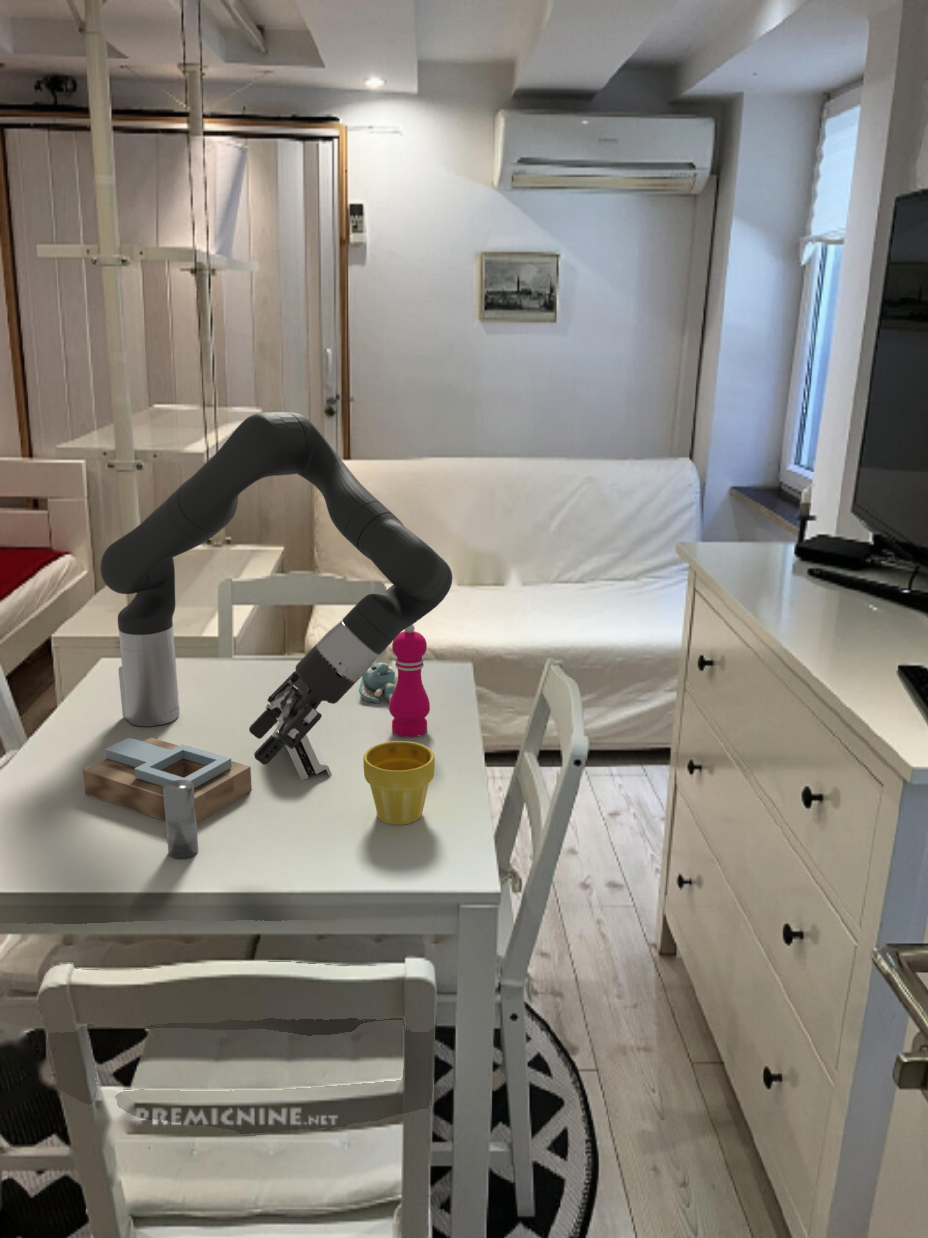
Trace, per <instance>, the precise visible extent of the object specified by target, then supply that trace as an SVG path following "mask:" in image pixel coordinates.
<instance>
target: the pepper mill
mask: <svg viewBox="0 0 928 1238" xmlns="http://www.w3.org/2000/svg"><path fill="white" fill-rule="evenodd" d="M391 644H392V645H391V646H392V647H391V648H392V649H391V651H392V652H393V654H394V656H395V657H396V658H395V659H394V661H395V664H394V666H395V668H396V669H397V678H398V681H397V685H396V688H395V690H394V692H393V694H392V696H391V699H390V701H389V703H388V704H389V705H388V710H389V713H390V715H391V716H392V717H393V719H392V720H391V731H392V732H393V734H395V735H397V736H399V737H405V738H415V737H421V736H423V735H424V734H426V732H427V730H428V719H426V718H427V716H428V715H429V714H430V711H431V703H430V700H429V696H428V694H427V692H426V689H425V687H424V684H423V681H422V669H423V667H425V663H424V661H425V659H424V657H423V656H424V655H425V654H426V652H427V649H428V646H427V640H426V638H425V637H424V636H423V634H421V633H420V632H418V631H415V625H414V624H412V625H411V626H409V627H407V628H406V629H404V630H403V631H402V632H400V633H399V635H398V636H397V637H396V638H395V639H394V640H393V641H392V642H391Z"/></svg>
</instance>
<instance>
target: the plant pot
mask: <svg viewBox="0 0 928 1238" xmlns="http://www.w3.org/2000/svg"><path fill="white" fill-rule="evenodd" d="M435 761H436V760H435V754H434V751H433V750H432V749H431V748H430V747H428V746H427V745H425V744H422V743H419V742H415V741H407V740H393V741H391V740H390V741H386V742H382V743H377V744H376V745H374V746H371V747H370V748H368V749H367V750H366V751H365V753H364V755H363V774H364V775H363V776H364V778H365V781H366V782H367V783H368V784H369V786H370V787H369V788H370V790H371V794H372V799H373V801H374V806H375V810H376V815H377V817H378V819H379V820H380V821H381V822H383V823H385V824H388V825H394V826H403V825H408V824H412V823H414V822H416V821H418V820H419V819H420V818H421V816H422V815H423V811H424V807H425V803H426V797H427V793H428V789H429V785H430V783H431V782H432V780H433V779H434V777H435V765H436V764H435Z"/></svg>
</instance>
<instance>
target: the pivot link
mask: <svg viewBox="0 0 928 1238" xmlns="http://www.w3.org/2000/svg"><path fill="white" fill-rule="evenodd" d="M104 755H105V759H110V760H113V761H117V762H120V763H123V764H126V765H129V766H133V767H136V768H134V770H135V778H138V779H141V780H144V781H147V782H151V783H154V784H157V785H160V786H164V785H165V784H167V783H169V782H171V781H175V780H188V781H191V782H192V783H193V784H194V788H196V787H198V786H199V785H201V784H203V783H205V782H207V781H208V780H210V779H212V778H214V777H215V776H217V775H219V774H221V773H223V772H224V771H226V770H228V769H230V768H231V767H232V764H231V761H232V758H231V757H228V756H227V757H226V756H224V755H221V754H218V753H214V752H210V751H206V750H204V749H200V748H197V747H193V746H191V745H187V744H186V745H185V744H180V745H178V747H176V748H174V749H172V750H169V749H165V748H162V747H159V746H155V745H152V744H148V743H145V742H143V741H141V740H138V739H134V738H132V737H128V738H125V739H124V740H121V741H119V742H117V743H115V744H113V745H110V746H108V747H106V748H104ZM182 759H186V760H190V761H193V762H196V763H200V764H203V765H206V766H205V767H203V768H201V769H199V770H198V771H196V772H194V773H192V774H190V775H188V776H186V777H185V778H183V777H180V776H177V775H173V774H170V773H167V772H164V771H161V770H163V769H164V768H166V767H168V766H170V765H172V764H174V763H176V762H178V761H180V760H182Z"/></svg>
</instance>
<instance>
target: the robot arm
mask: <svg viewBox="0 0 928 1238" xmlns="http://www.w3.org/2000/svg"><path fill="white" fill-rule="evenodd" d="M290 475H298V476H300V477H302V478H304V479H305V480H307V482H309V483H310V484H312V485H313V486H314V487H316V489H318V490H319V492H320V493H321V494H322V497H323V499H324V501H325V504H326V508H327V509H326V510H327V512H328V515H329V518H330V520H331V521H332V523H333V525H334V526H335V528H336V529H337V530H338V532H339V533H340V534H341V535H342V536H343V537H344V538H345V539H346V540H347V541H348V542H349V543H350V544H351V545H353V547H355V549H357V551H359V552H360V553H361V554H362V555H363V556H364V557H366V558H367V559H368V560H370V561H371V562H372V563H373V564H374V565H375V567H376V568H377V569H378V570H379V571H380V573H382V575H384V576H385V578H386V579H387V580H388V581H389V582H390V583H392V585H391V586H390V587H389V588H387V589H386V590H384V592H382V593H369V594H367V595H365V596H364V597H362V599H360V600H359V601H358V602H357V603H356V605H354V607H352V609H350V610H349V611H348V613H347V614H346V615H345V616H344V617H342V619H341V620H340V621H338V623H336V624H335V625H334V626H333V627H332V628H331V629H329V630H328V631H327V632H326V633H325V634H324V635H323V636H322V638H320V640H319V641H318V642H317V643H316V644H315V645H314V646H313V647H311V649H310V650H309V651H308V652H307V653H306V654H305V655H304V656H303V657H302V659H300V661H299V662H298V663H297V664H296V665H295V669H294V672H292V673H291V674H290V675H289V676H288V677H287V678H286V679H285V681H283V683H281V684H280V686H278V687H277V688H276V689H275V691H273V693H271V695H269V696H268V698H267V702H268V704H266V706H265V710H264V711H263V712H262V714H260V715H259V717H257V718H256V720H255V721H253V723H252V724H251V725H250V726H249V729H248V730H249V731H248V732H249V733H250V735H252V736H254V737H256V738H257V739H259V740H260V739H262V738H263V737H264V736H265V735H266V734H267V733H268V732H269V731H270V730H271V729H272V728H273V727H274V726H275V725H276V723H277V721H279V725H278V726H276V728H275V730H274V731H273V733H272V734H271V735H270V736H269V737H268V738H267V739H266V740H265V741H264V742H263V743H262V744H261V745H260V746H259V747H258V748H257V749H256V751H254V753H253V756H254V758H255V760H257V761H258V762H260V764H262V765H263V766H266V765H268V764H269V763H271V761H273V759H274V758H275V757H276V756H277V755H278V754H279V753H280V751H282V750H283V749H284V747H285V748H286V747H289V748H290V749H293V748H294V747H295V746H296V745H297V744H298V743H299V742H300V741H301V740H302V738H303V737H304V736H305V735H306V734H307V733H308V732H309V731H310V732H311V730H312V728H314V726H315V725H316V724H317V723H318V722H319V721H320V720H321V718H322V714H321V713H320V712H318V710H317V709H318V707H319V706H320V705H321V703H322V702H327V703H328V704H331V705H332V704H333V705H334V704H337V703H338V702H339V701H340V700H341V699H342V698H343V696H345V695H346V693H347V692H348V691H350V689H351V688H352V687H353V686H354V685H355V684H356V683H357V682H358V681H359V679H362V676H363V675H364V673H365V672H366V671H367V670H368V669H369V668H370V667H371V665H372V664H375V661H376V660H377V659H378V658H379V657H380V655H381V654H382V653H383V652H384V651H385V650H386V649H387V648H388V647H389V646H390V645H391V644H392V643H393V640H394V639H395V638H396V637H397V636H398V635H399V633H401V632H404V631H405V630H404V629H406V628H407V627H409V626H411V625H412V624H413V625H414V624H415V623H417V622H418V621H419V620H421V619H422V618H424V617H425V616H426V615H428V614H429V613H431V612H432V611H433V610H434V609H435V608H436V607H437V606H439V605H440V603H441V602H442V601H443V600H444V599H445V598H446V596H447V595H448V593H449V591H450V589H451V587H452V585H453V572H452V569H451V567H450V566H449V564H448V563H447V561H446V560H444V558H442V557H441V556H440V555H439V554H438V553H437V552H436V551H435V550H434V549H433V548H432V547H430V546H429V545H428V544H427V543H426V542H425V541H424V540H422V539H421V538H420V537H419V536H417V535H416V534H415V533H414V532H412V531H411V530H410V529H409V528H407V527H406V526H405V525H404V524H403V522H402V521H401V520H400V518H398V517H397V516H396V515H395V513H393V512H392V511H391V510H390V509H388V508H387V507H386V506H385V505H384V504H383V503H382V502H380V500H379V499H378V498H376V497H375V496H374V495H373V494H372V493H371V492H370V491H369V490H368V489H366V487H365V486H364V485H362V484H361V482H360V481H359V480H358V479H357V478H356V477H355V475H354V474H353V473H352V472H351V471H350V469H349V468H348V467H347V465H346V464H345V463H344V461H343V460H342V459H341V458H340V457H339V455H338V454H337V452H336V451H335V450H334V448H332V446H331V445H330V443H329V442H328V441H327V440H326V438H325V436H323V434H322V433H321V432H320V430H319V429H318V428H317V427H316V426H315V424H314V423H313V422H311V420H310V419H308V417H306V416H304V415H303V414H300V413H297V412H293V411H292V412H291V411H277V412H276V411H272V412H271V411H270V412H267V411H265V412H257V413H255V414H252V415H250V416H248V417H247V418H245V419H244V420H243V421H242V422H240V424H239V425H238V427H236V429H235V430H234V431H233V432H232V433H231V435H230V436H229V437H228V439H227V440H226V441H225V442H224V443H223V445H222V446H221V447H220V448H219V449H218V450H217V452H216V453H215V454H214V455H213V456H212V457H211V458H210V459H209V460H208V461H207V462H206V463H205V464H203V466H201V467H200V468H199V469H198V470H197V471H196V472H195V473H194V474H193V475H192V476H191V477H189V478H188V479H187V480H186V481H184V482H183V483H182V484H180V486H179V487H178V488H177V489H176V490H174V492H172V493H171V494H170V495H169V496H168V497H167V499H166V500H164V502H162V503H161V504H160V505H159V506H158V507H157V508H156V509H155V510H154V511H152V512H151V513H150V514H149V516H147V517H146V518H144V520H143V521H142V522H141V523H140V524H138V526H136V527H135V528H134V529H132V530H131V531H130V532H129V531H128V533H126V534H125V535H123V536H122V537H120V538H119V539H117V540H116V541H114V542H111V544H110V545H108V547H107V548H106V549H105V550H104V552H103V555H102V557H101V561H100V574H101V578H102V581H103V582H104V585H106V586H107V587H108V588H109V589H110V590H111V591H112V592H115V593H117V594H123V595H132V594H135V596H134V598H133V599H132V600H131V601H130V602H129V603H127V605H126V606H125V607H123V608H122V609H121V610H120V611H119V613H118V615H117V628H118V636H119V637H118V638H119V648H120V657H121V666H119V667H118V679H119V691H120V700H121V711H122V717H123V718H125V719H126V721H127V722H128V723H129V724H132V725H135V726H139V727H154V726H161V725H165V724H168V723H171V722H173V721H175V720H176V719H177V718H179V716H180V703H179V687H178V676H177V673H178V672H177V662H176V661H177V660H176V650H175V635H174V625H173V624H174V623H173V618H174V614H175V610H176V572H175V571H176V570H175V561H174V558H175V557H177V556H180V555H182V554H184V553H187V552H188V551H190V550H193V549H194V548H195V549H196V548H197V547H198V546H201V545H202V544H204V543H206V542H207V541H208V540H210V539H212V538H213V537H214V536H215V535H217V534H218V533H219V532H220V531H222V530H223V529H224V528H225V527H226V526H227V525H228V524H229V523H230V522H231V521H232V520H233V518H234V517H235V515H236V513H237V509H238V503H239V495H240V494H241V493H242V492H243V491H245V490H246V489H247V488H248V487H250V486H251V485H253V484H254V483H257V481H260V480H261V479H264V478H268V477H269V478H270V477H274V476H275V477H276V476H278V477H279V476H290ZM276 718H278V720H277V719H276ZM284 727H285V728H284ZM289 732H290V733H289ZM288 733H289V734H288ZM297 733H298V734H297ZM296 734H297V735H296Z"/></svg>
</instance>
